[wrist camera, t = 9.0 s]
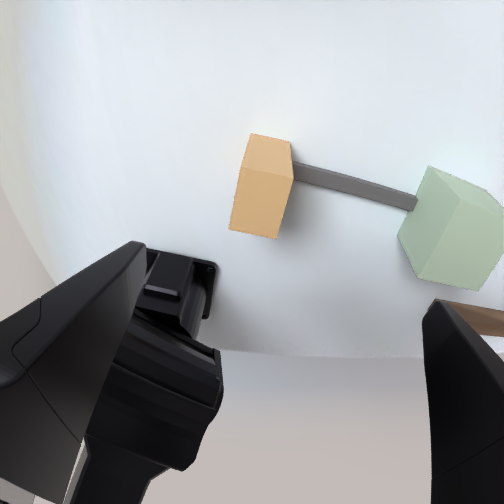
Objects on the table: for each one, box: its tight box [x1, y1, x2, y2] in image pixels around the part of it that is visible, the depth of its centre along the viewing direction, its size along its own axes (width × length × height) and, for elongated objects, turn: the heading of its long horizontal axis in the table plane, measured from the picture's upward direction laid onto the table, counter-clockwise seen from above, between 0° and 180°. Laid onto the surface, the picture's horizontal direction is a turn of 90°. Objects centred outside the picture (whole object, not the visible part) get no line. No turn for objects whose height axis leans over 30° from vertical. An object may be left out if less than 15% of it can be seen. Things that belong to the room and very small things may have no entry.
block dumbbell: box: [229, 133, 504, 291], centre depth 19 cm, size 6×18×6 cm, turn 79°
